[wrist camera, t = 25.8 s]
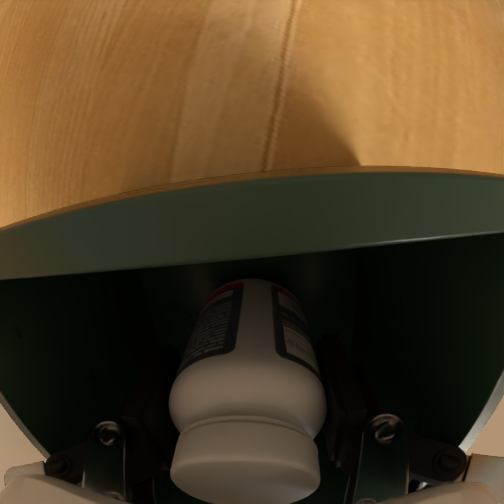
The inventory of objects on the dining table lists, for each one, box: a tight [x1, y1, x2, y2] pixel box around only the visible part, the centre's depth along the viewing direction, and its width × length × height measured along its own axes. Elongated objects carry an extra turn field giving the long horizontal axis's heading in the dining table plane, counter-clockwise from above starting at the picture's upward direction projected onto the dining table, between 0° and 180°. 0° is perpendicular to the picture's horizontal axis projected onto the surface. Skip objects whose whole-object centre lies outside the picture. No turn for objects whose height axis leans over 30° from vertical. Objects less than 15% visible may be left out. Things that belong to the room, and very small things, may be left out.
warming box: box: [0, 166, 504, 504], centre depth 11 cm, size 17×14×12 cm
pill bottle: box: [169, 278, 327, 504], centre depth 9 cm, size 5×5×9 cm
